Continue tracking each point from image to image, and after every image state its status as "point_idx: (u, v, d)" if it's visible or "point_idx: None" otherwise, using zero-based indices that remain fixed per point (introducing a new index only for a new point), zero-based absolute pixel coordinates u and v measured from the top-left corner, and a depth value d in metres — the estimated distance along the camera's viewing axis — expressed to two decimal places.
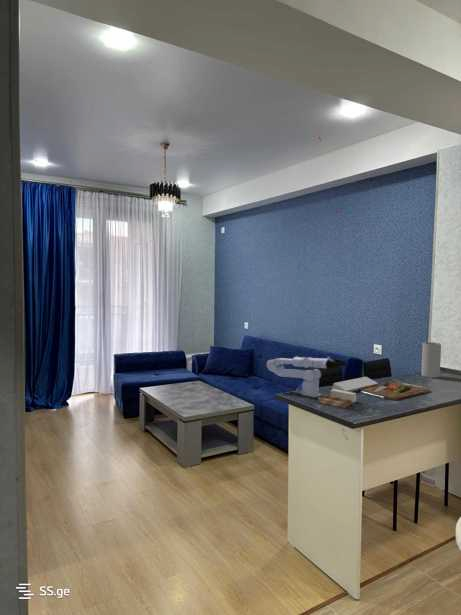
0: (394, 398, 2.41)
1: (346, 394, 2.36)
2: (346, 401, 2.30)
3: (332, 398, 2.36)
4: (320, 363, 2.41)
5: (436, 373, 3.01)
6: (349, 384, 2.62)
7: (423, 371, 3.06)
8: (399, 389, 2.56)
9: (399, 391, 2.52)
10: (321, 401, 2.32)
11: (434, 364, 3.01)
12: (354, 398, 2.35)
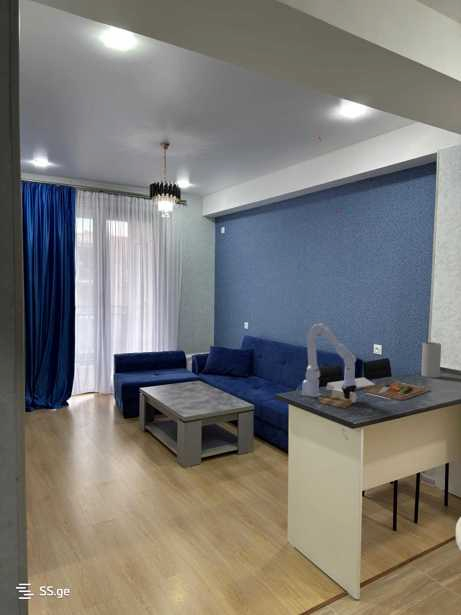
0: None
1: None
2: (346, 401, 2.30)
3: (332, 398, 2.36)
4: (347, 377, 2.35)
5: (436, 373, 3.01)
6: None
7: (423, 371, 3.06)
8: (402, 390, 2.56)
9: (403, 392, 2.52)
10: (321, 401, 2.32)
11: (434, 364, 3.01)
12: (353, 398, 2.35)
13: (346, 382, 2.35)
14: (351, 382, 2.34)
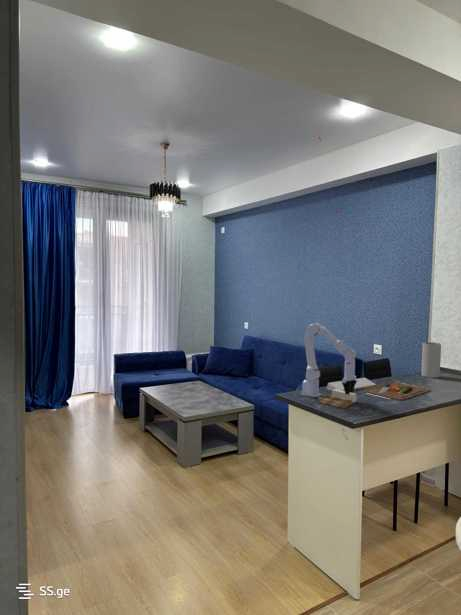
0: None
1: (346, 394, 2.37)
2: (346, 401, 2.30)
3: (332, 398, 2.36)
4: (347, 372, 2.35)
5: (436, 373, 3.01)
6: None
7: (423, 371, 3.06)
8: (402, 390, 2.56)
9: (403, 392, 2.52)
10: (321, 401, 2.32)
11: (434, 364, 3.01)
12: (354, 398, 2.35)
13: (346, 377, 2.35)
14: (351, 377, 2.34)
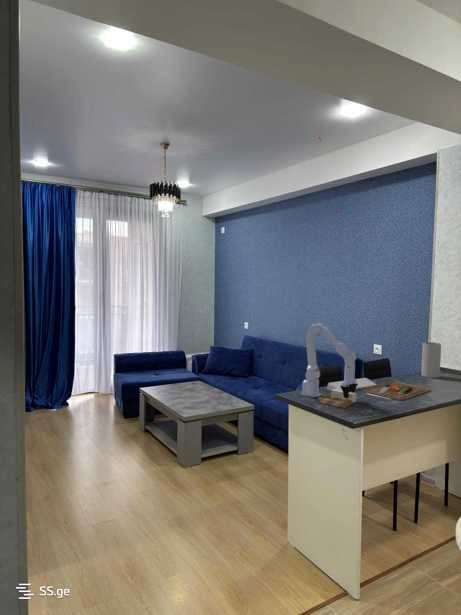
0: None
1: None
2: (346, 401, 2.30)
3: (332, 398, 2.36)
4: (347, 375, 2.35)
5: (436, 373, 3.01)
6: None
7: (423, 371, 3.06)
8: (402, 390, 2.56)
9: (403, 392, 2.52)
10: (321, 401, 2.32)
11: (434, 364, 3.01)
12: (354, 398, 2.35)
13: (346, 380, 2.35)
14: (351, 380, 2.34)
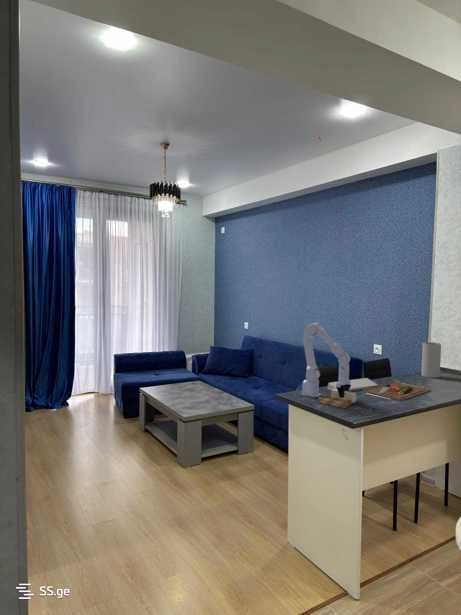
0: None
1: (346, 394, 2.36)
2: (346, 401, 2.30)
3: (332, 398, 2.36)
4: (342, 376, 2.37)
5: (436, 373, 3.01)
6: None
7: (423, 371, 3.06)
8: (402, 390, 2.56)
9: (403, 392, 2.52)
10: (321, 401, 2.32)
11: (434, 364, 3.01)
12: (354, 398, 2.35)
13: (340, 381, 2.38)
14: (345, 381, 2.37)
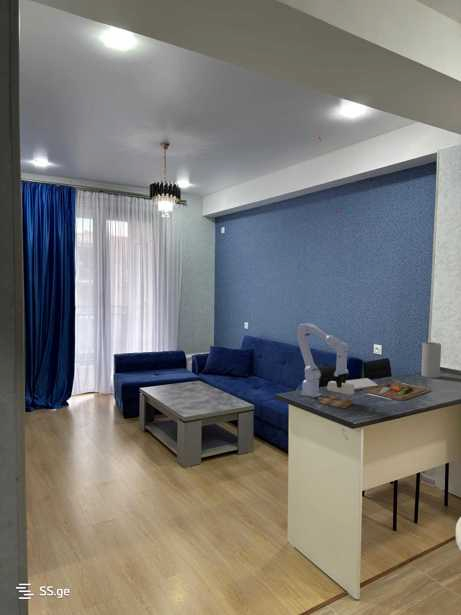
0: (401, 400, 2.40)
1: (344, 385, 2.33)
2: (346, 401, 2.30)
3: (332, 398, 2.36)
4: (339, 365, 2.34)
5: (436, 373, 3.01)
6: None
7: (423, 371, 3.06)
8: (403, 390, 2.56)
9: (404, 392, 2.52)
10: (321, 401, 2.32)
11: (434, 364, 3.01)
12: (352, 389, 2.32)
13: (338, 370, 2.35)
14: (343, 370, 2.34)
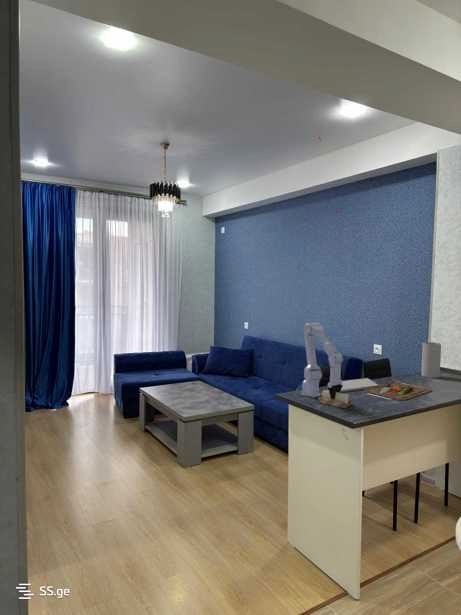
0: (401, 400, 2.40)
1: (338, 395, 2.28)
2: None
3: None
4: (333, 376, 2.29)
5: (436, 373, 3.01)
6: (345, 384, 2.64)
7: (423, 371, 3.06)
8: (403, 390, 2.56)
9: (404, 392, 2.52)
10: (321, 401, 2.32)
11: (434, 364, 3.01)
12: (346, 399, 2.27)
13: (332, 381, 2.29)
14: (337, 381, 2.28)
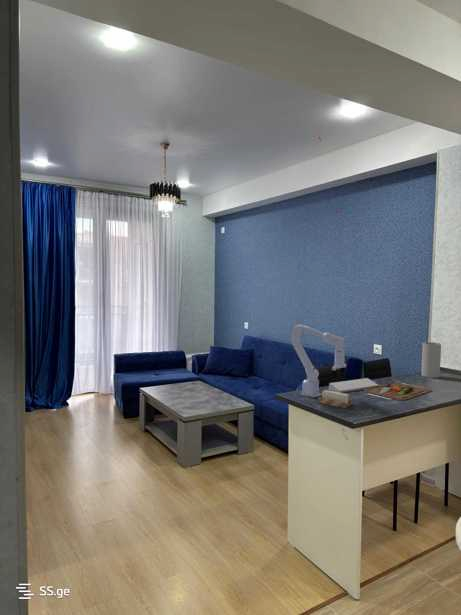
0: (401, 400, 2.40)
1: (338, 395, 2.28)
2: None
3: None
4: (337, 359, 2.41)
5: (436, 373, 3.01)
6: (346, 385, 2.63)
7: (423, 371, 3.06)
8: (403, 390, 2.56)
9: (404, 392, 2.52)
10: (321, 401, 2.32)
11: (434, 364, 3.01)
12: (346, 399, 2.27)
13: (336, 364, 2.41)
14: (341, 364, 2.40)
